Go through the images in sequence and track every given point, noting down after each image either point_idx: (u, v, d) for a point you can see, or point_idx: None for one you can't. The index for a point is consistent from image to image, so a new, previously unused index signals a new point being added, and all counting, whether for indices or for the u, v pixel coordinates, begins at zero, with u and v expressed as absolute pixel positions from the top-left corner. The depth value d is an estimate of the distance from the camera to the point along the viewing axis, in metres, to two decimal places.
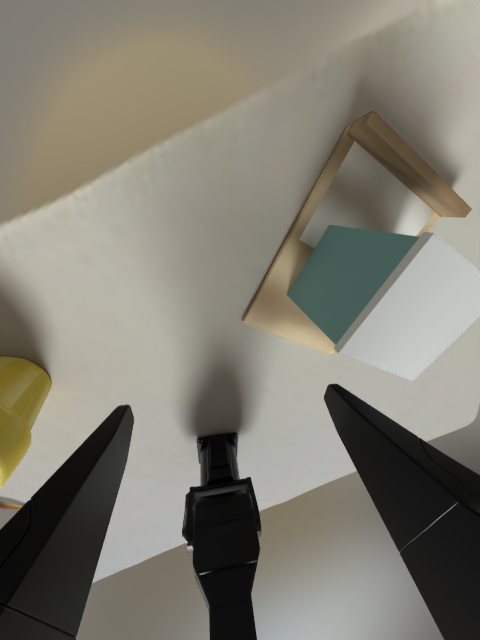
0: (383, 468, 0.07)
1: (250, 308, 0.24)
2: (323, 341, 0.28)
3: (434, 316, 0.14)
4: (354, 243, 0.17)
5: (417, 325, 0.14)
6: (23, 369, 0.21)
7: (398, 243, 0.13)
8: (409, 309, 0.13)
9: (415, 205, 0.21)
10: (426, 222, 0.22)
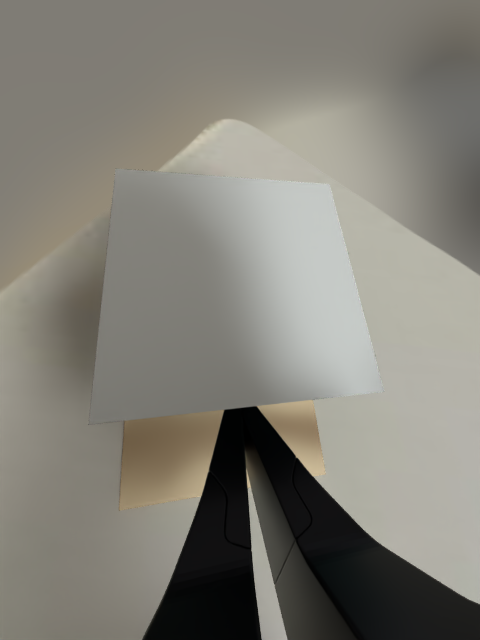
0: (261, 490, 0.07)
1: (122, 474, 0.14)
2: None
3: (255, 254, 0.07)
4: None
5: (239, 280, 0.07)
6: None
7: None
8: (188, 263, 0.07)
9: None
10: None
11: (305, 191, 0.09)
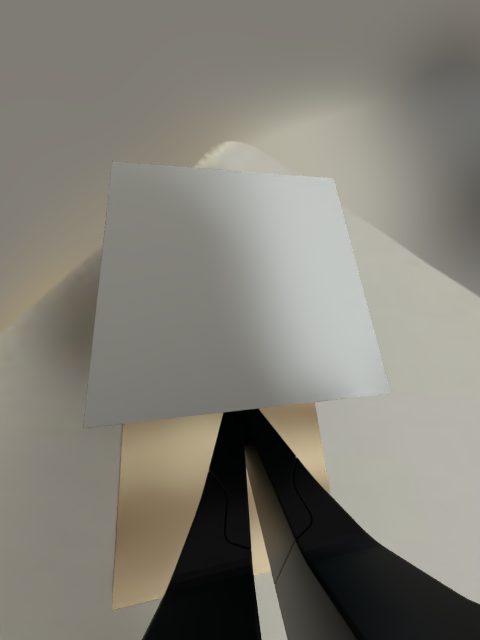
0: (261, 490, 0.07)
1: (115, 564, 0.12)
2: None
3: (256, 250, 0.07)
4: None
5: (241, 277, 0.07)
6: None
7: None
8: (187, 259, 0.07)
9: None
10: None
11: (308, 186, 0.08)
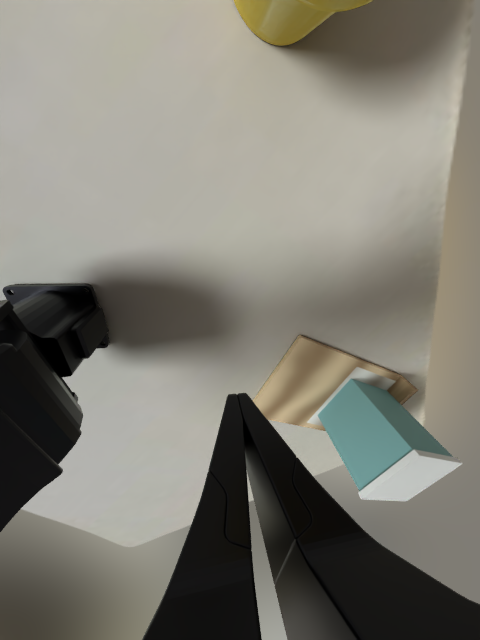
0: (261, 490, 0.07)
1: (312, 341, 0.25)
2: (263, 404, 0.29)
3: (411, 484, 0.24)
4: (411, 418, 0.27)
5: (411, 480, 0.23)
6: None
7: (441, 447, 0.24)
8: (425, 473, 0.23)
9: None
10: None
11: (411, 496, 0.26)
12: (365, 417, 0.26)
